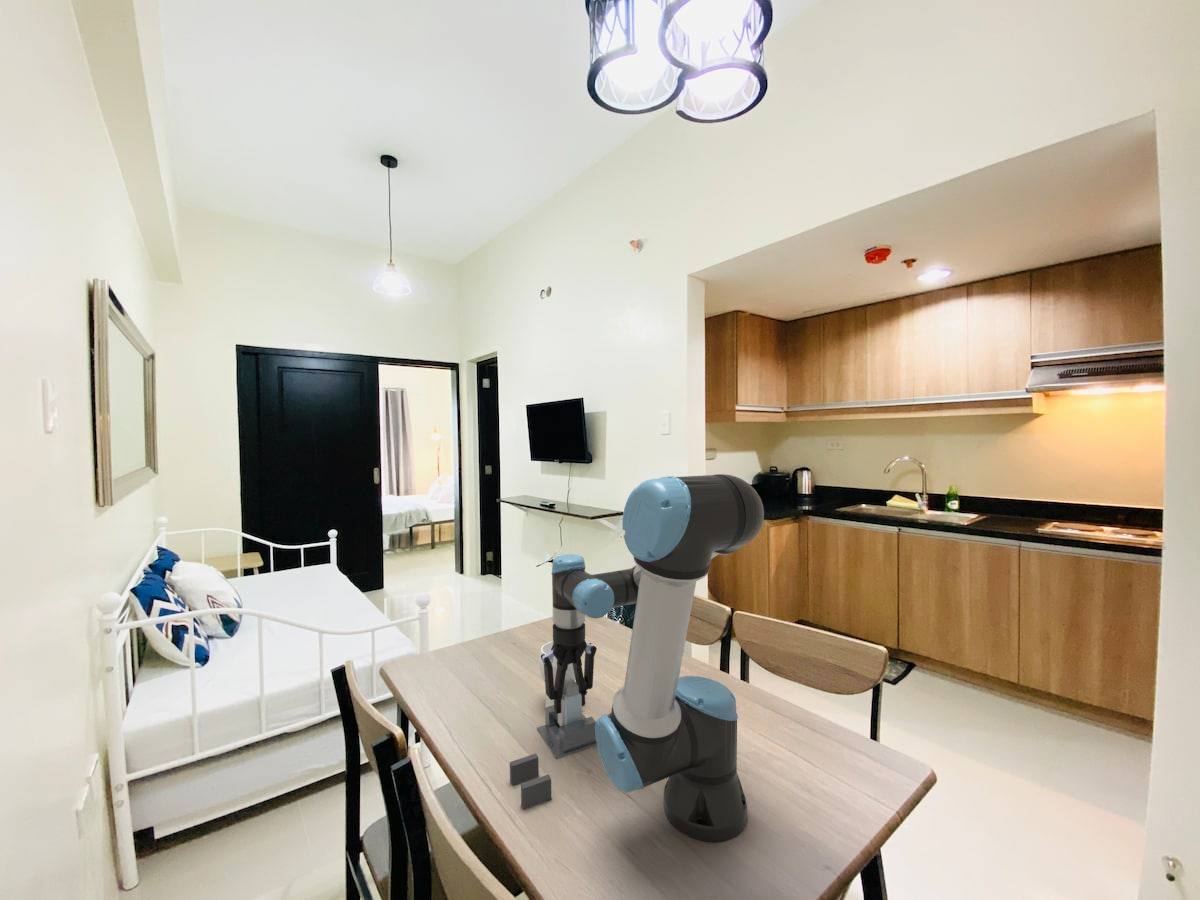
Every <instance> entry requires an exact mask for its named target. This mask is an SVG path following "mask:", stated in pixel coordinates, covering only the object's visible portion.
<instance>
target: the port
mask: <svg viewBox="0 0 1200 900" xmlns="http://www.w3.org/2000/svg"><path fill="white" fill-rule="evenodd" d="M544 714H545V715H544V717H545V718H544V719H545V723H544V724H543V725H540V726H538V727H536V730H537V732H538V734H539V735H540V737H541V738H542V740H543V742H545V745H546V746H547V747H548V749H549V751H550V752H551V753H552V755H553V757H554V758H555V760H558V759H561V758H563V757H567V756H570V755H573V754H575V753H578V752H581V751H584V750H588V749H590V748H593V747H596V746H597V742H596V736H595V724H596V721H597V720H595V719H594V718H593V717H592V716H589V717H586V716H585V715H584V714H583V713H582V720H579V721H576V722H573V723H569V724H566V725H563V726H560V725H559V723H558V714H557V713H556V712H555V710H554V705H553V706H549V707H545V708H544Z"/></svg>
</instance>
